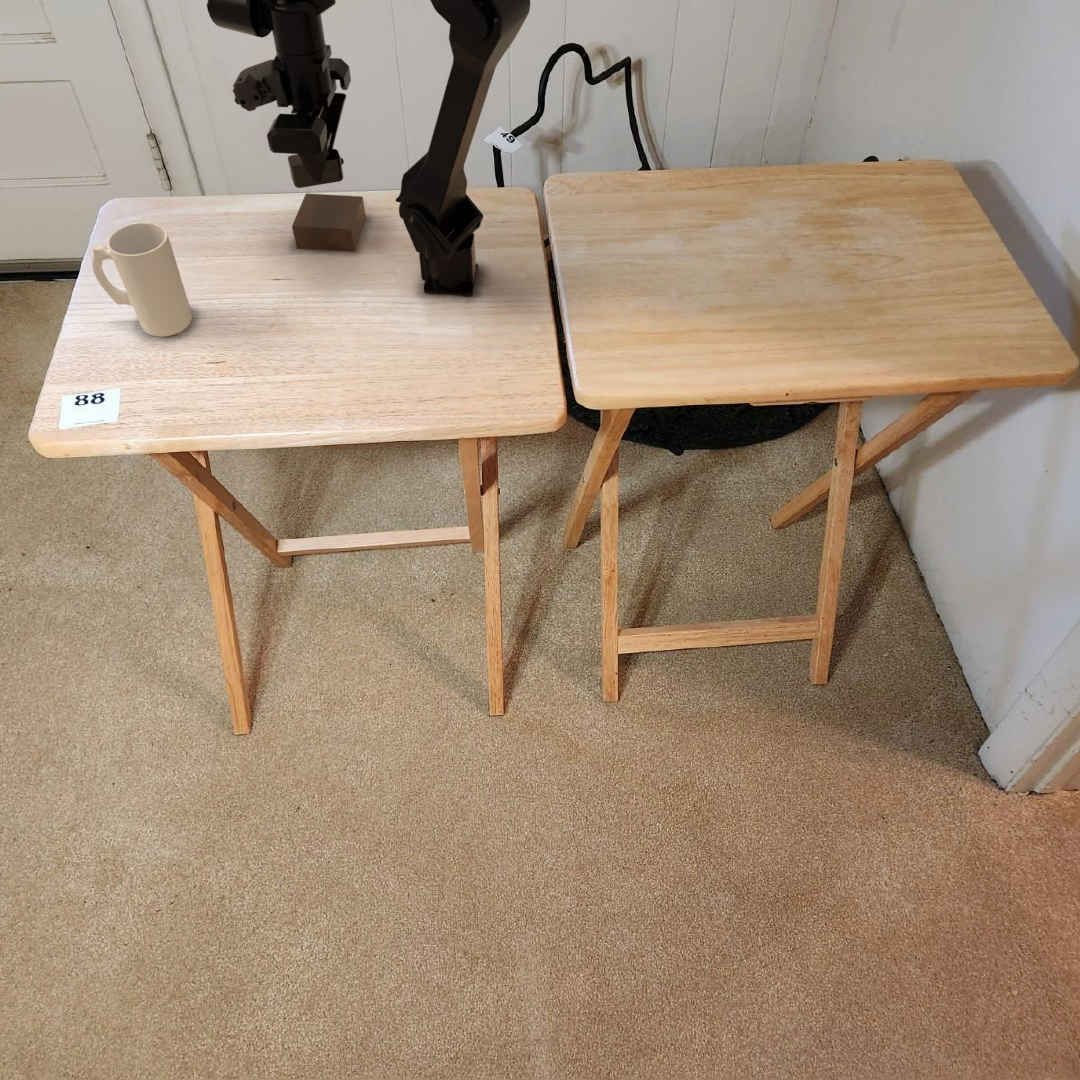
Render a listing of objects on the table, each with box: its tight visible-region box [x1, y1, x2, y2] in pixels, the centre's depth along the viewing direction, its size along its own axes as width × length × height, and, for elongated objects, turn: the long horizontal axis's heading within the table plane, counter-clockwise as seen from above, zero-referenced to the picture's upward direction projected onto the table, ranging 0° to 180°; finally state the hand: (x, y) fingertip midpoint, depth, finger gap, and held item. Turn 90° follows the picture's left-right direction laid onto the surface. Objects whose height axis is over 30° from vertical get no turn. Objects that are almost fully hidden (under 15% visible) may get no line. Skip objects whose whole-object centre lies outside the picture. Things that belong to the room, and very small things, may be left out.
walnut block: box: [291, 193, 367, 253], centre depth 133 cm, size 8×8×4 cm
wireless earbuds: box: [287, 148, 345, 189], centre depth 124 cm, size 5×7×3 cm, turn 109°
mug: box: [91, 221, 193, 338], centre depth 118 cm, size 10×7×12 cm, turn 89°
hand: (321, 169), depth 125 cm, fingers closed on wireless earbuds, 5 cm apart
